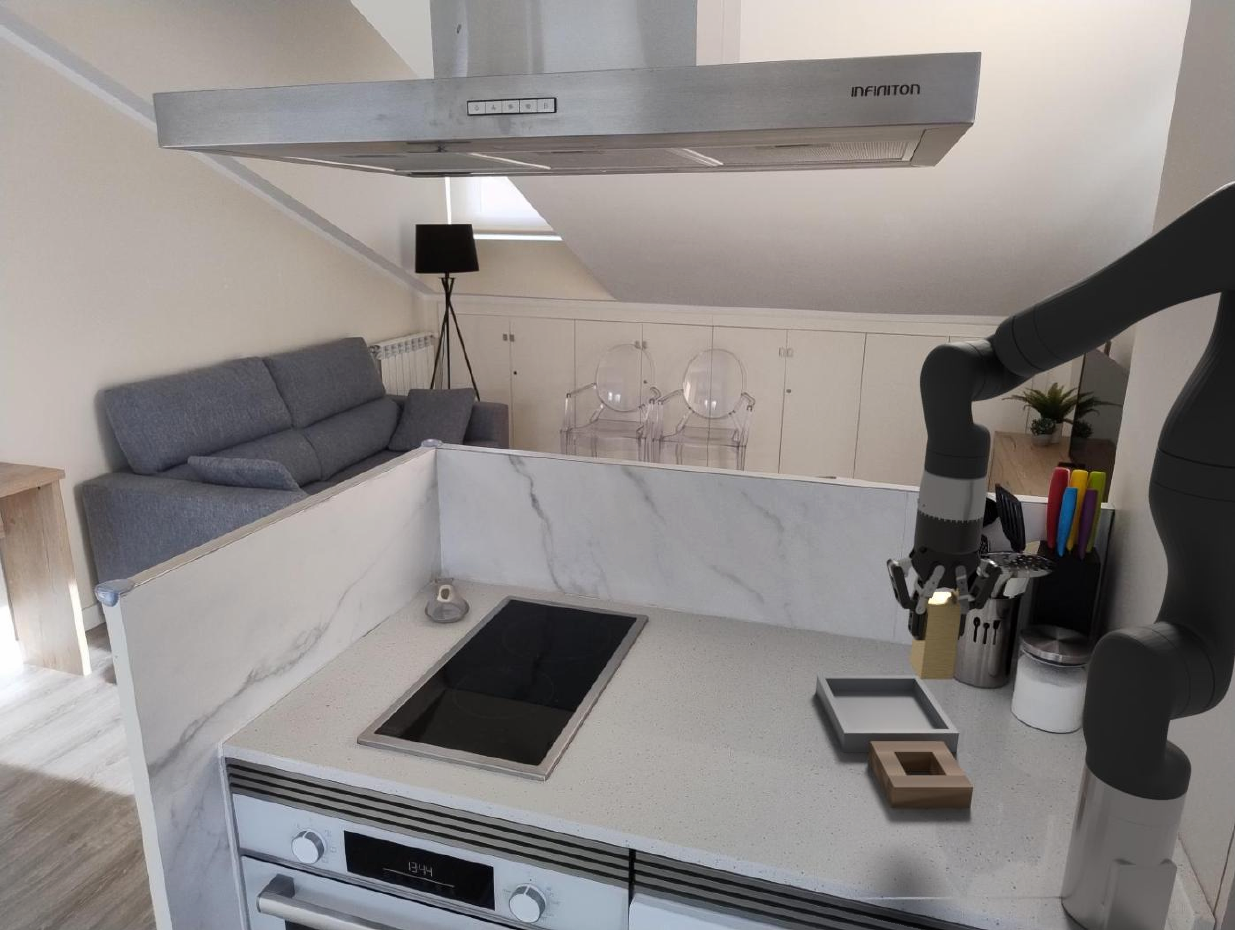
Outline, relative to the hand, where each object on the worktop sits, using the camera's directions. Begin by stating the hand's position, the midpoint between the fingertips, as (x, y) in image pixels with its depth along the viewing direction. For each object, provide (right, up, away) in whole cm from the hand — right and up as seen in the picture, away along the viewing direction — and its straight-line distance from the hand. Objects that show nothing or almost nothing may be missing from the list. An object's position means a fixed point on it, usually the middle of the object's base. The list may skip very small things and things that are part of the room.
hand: (935, 637), depth 110 cm
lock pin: (0, -5, +1) cm, 5 cm away
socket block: (0, -20, +6) cm, 21 cm away
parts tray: (-1, -16, +20) cm, 26 cm away
